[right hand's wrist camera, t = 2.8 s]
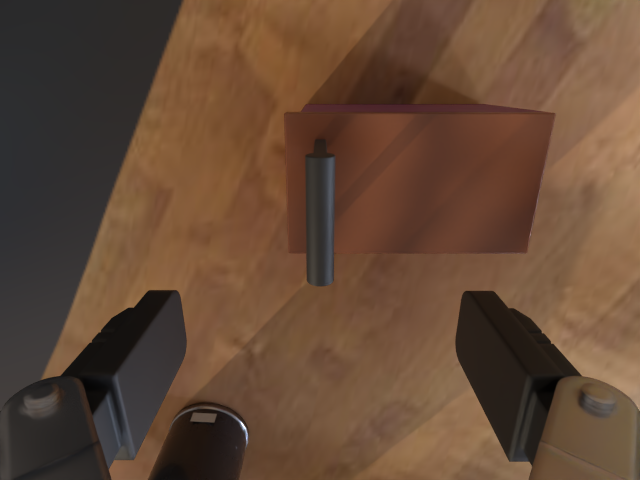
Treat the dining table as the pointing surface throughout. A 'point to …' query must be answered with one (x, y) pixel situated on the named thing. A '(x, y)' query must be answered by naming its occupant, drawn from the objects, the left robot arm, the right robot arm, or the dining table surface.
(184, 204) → the dining table surface
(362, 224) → the lid
